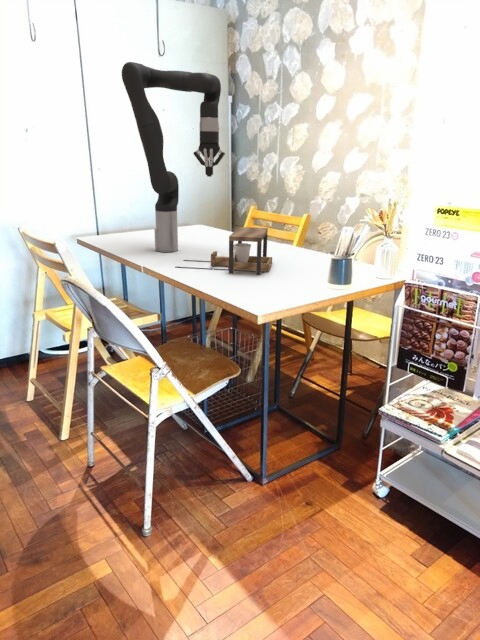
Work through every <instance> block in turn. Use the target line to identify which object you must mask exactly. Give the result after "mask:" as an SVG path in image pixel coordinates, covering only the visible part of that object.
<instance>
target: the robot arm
mask: <svg viewBox="0 0 480 640" xmlns="http://www.w3.org/2000/svg"><path fill="white" fill-rule="evenodd" d="M121 80H122V82H123V85H124V88H125V91H126V93H127V96H128V99H129V101H130V105H131V107H132V108H131V109H132V111H133V115H134V118H135V123H136V126H137V127H136V128H137V131H138V135H139V138H140V141H141V144H142V147H143V152H144V155H145V158H146V162H147V167H148V172H149V180H150V185H151V188H152V189H153V191H154V192H155V193H156V194H157V195H158V197H157V200H156V202H155V204H154V211H155V212H154V213H155V228H154V248H155V249H154V250H155V251H156V252H160V253H174V252H177V251H178V250H179V238H178V237H179V234H178V233H179V232H178V229H179V228H178V205H179V197H180V196H179V192H180V191H179V190H180V189H179V188H180V187H179V186H180V185H179V179H178V177H177V175H176V173H174V171H173V172H172V171H170V170H168V169H167V166H166V163H165V160H164V135H163V134H164V133H163V129H162V127H161V123H160V119H159V117H158V115H157V113H156V112H155V110H154V108H153V107H152V106H151V104H150V102H149V100H148V97H147V94H146V90H145V89H152V88H160V89H161V88H162V89H168V90H172V91H177V92H178V91H180V92H186V93H187V92H188V93H192V92H193V93H194V92H195V93H200V94H203V95H204V96H203V100H202V102H200V105H199V146H198V149H197V150H196V151H193V153H192V154H193V155H194V157H195V158H196V160H197V161H198V162H199V164H200V165H201V166H204V167H205V169H204V170H205V175H206V177H209V178H211V177H212V176H213V175H214V167H216V166H218V164H219V163H220V162H221V161H222V159H223V158H224V157H225V155H226V152H224V151H222V150H221V147H220V139H219V138H220V136H219V135H220V124H219V103H220V98H221V91H222V85H221V84H222V83H221V80H220V78H219V77H218V76H216V75H214V74H211V73H207V72H191V71H185V70H162V69H155V68H153V67H149V66H146V65H144V64H142V63H137V62H134V61H133V62H132V61H128V62H125V63H124V64H123V66H122V69H121ZM201 156H203V158H204V159H203V158H202V157H201ZM215 157H217V158H216V159H215Z"/></svg>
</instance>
